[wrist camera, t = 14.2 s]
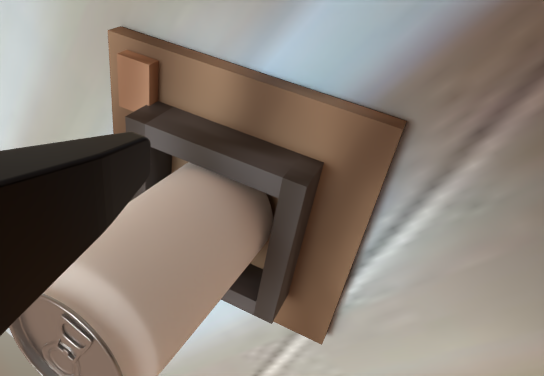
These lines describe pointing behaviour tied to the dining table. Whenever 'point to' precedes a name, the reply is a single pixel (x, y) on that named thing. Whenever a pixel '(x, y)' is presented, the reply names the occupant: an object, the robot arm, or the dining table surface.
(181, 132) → the socket block
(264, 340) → the dining table surface
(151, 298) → the can
